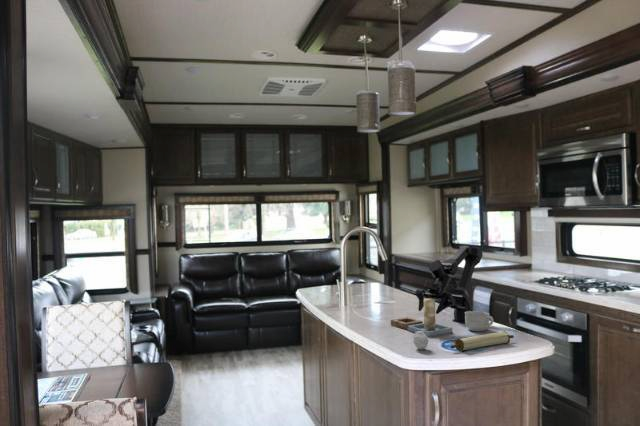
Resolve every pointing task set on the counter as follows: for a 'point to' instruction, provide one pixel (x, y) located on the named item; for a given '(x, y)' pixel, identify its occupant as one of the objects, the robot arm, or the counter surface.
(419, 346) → the grey round lump
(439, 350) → the counter surface
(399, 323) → the socket block
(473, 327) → the teacup
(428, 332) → the tray
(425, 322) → the dowel
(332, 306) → the counter surface
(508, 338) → the rolling pin
